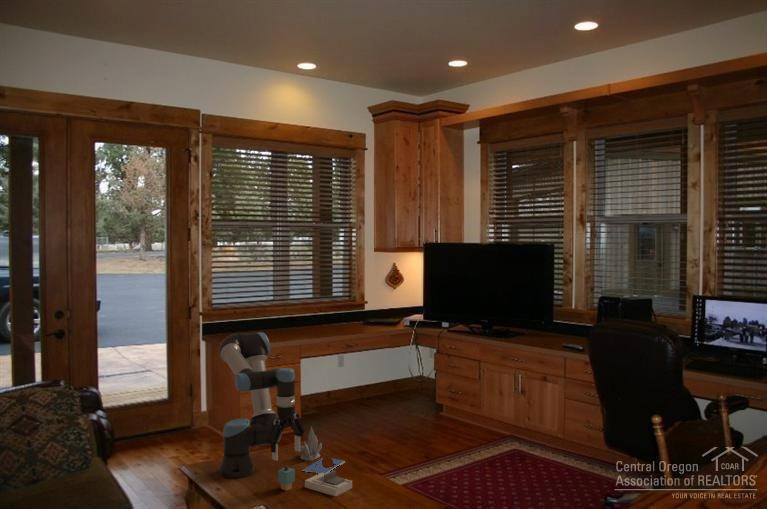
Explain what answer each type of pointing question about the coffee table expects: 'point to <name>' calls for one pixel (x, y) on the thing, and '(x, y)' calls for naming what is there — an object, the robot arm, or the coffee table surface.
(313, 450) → the crystal
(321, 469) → the blue flat panel
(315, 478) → the grey tray
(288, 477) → the plug
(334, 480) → the shutter
